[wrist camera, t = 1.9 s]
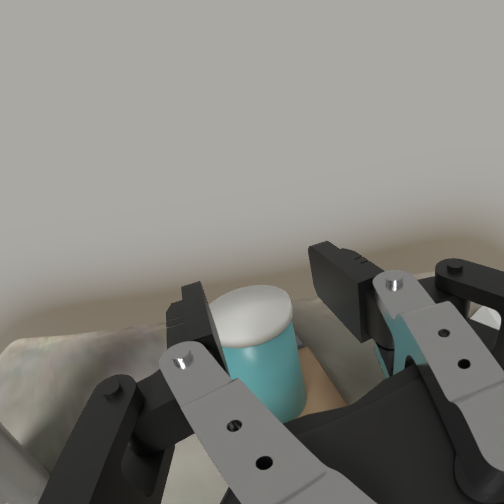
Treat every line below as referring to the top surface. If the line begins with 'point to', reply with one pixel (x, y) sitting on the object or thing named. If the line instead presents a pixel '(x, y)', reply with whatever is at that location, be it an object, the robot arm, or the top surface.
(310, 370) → the light tan wooden board
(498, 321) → the crown molding
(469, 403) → the robot arm
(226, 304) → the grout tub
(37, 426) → the top surface
